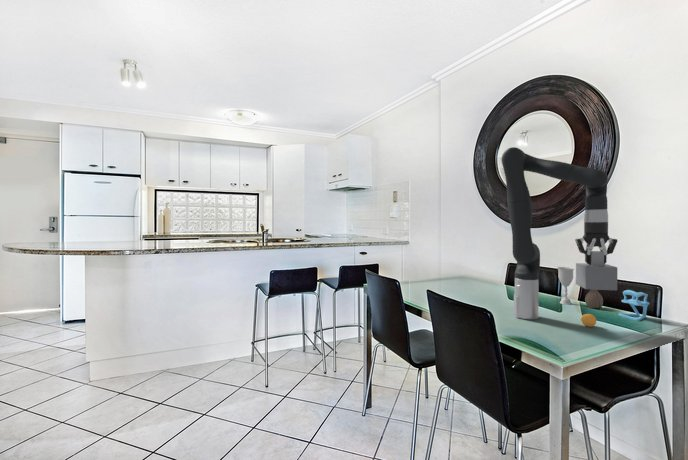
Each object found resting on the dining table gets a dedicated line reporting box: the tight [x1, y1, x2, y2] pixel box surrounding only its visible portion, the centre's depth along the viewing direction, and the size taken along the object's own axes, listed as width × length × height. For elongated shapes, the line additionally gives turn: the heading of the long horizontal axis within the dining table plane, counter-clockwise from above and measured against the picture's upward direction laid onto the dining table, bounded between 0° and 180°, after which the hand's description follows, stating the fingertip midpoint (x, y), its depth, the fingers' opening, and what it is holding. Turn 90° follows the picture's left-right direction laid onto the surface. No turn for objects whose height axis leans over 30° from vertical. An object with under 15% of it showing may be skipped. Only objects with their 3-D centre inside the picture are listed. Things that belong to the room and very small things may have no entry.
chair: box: [618, 289, 650, 322], centre depth 141 cm, size 8×8×12 cm
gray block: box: [575, 250, 618, 291], centre depth 130 cm, size 10×10×14 cm
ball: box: [580, 313, 597, 328], centre depth 131 cm, size 5×5×5 cm
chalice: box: [556, 266, 575, 305], centre depth 166 cm, size 7×7×18 cm
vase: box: [584, 289, 604, 309], centre depth 157 cm, size 7×7×9 cm
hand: (595, 264), depth 130 cm, fingers closed on gray block, 4 cm apart
